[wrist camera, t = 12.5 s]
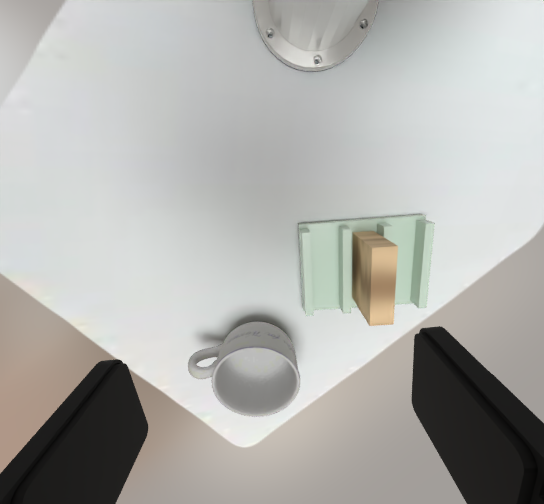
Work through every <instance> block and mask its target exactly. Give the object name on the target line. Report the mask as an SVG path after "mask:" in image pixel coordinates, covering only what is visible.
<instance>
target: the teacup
mask: <svg viewBox="0 0 544 504" xmlns="http://www.w3.org/2000/svg"><path fill="white" fill-rule="evenodd" d="M212 357H218V358H217V360H215V361H214V362H213V364H212V365H210V366H208V367H199V366H197V365H196V364H197V363H198V362H199V361H201V360H204V359H207V358H212ZM188 370H189V373H190V374H191V376H193V377H194V378H197V379H206V378H210V377H212V388H213V391H214V394H215V396H216V398H217V399H218V400H219V402H220V403H221V404H222V405H224V406H225V407H226V408H227V409H229V410H231V411H233V412H235V413H238V414H241V415H245V416H252V417H259V416H267V415H271V414H274V413H277V412H279V411H281V410H283V409H284V408H286V407H287V406H288V405H289V404H290V403H291V402H292V401H293V400H294V399H295V397H296V395H297V394H298V391H299V387H300V375H299V372H298V367H297V360H296V355H295V350H294V347H293V344H292V342H291V340H290V339H289V337H288V336H287V335H286V333H285V332H284V331H282V330H281V329H280V328H278V327H277V326H275V325H272V324H270V323H265V322H249V323H245V324H243V325H240V326H238V327H237V328H235V329H234V330H233V331H231V332H230V333H229V334H228V336H227V337H226V338H225V340H224V342H223V344H220V345H218V346H216V347H212V348H207V349H203V350H200V351H198V352H196V353H194V354H193V355H192V356H191V357H190V359H189V362H188Z"/></svg>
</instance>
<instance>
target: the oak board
mask: <svg viewBox="0 0 544 504" xmlns="http://www.w3.org/2000/svg"><path fill="white" fill-rule="evenodd" d="M397 256H398V246H397V245H396V244H394V243H392V242H391V241H389V240H388V239H386V238H384V237H383V236H381V235H379V234H378V233H376V232H374V231H364V232H352V298H353V300H354V301H355V303H356V305H357V306H358V308H359V310H360V311H361V313H362V314H363V316H364V318H365V319H366V321H367V322H368V324H369V326H375V325H390V324H393V322H394V306H395V289H396V273H397Z"/></svg>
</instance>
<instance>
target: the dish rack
mask: <svg viewBox="0 0 544 504" xmlns="http://www.w3.org/2000/svg"><path fill="white" fill-rule="evenodd" d="M425 217H426V215H422V214H417V215H404V216H391V217H378V218H365V219H353V220H340V221H327V222H314V223H301V224H298V227H299V246H300V266H301V285H302V305H303V311H305V314H306V316H314V312H313V310H325V309H340V308H341V310H342V312H343V313H351V308H354V307H358V306H357V305H356V303H355V301H354V300H353V298H352V232H364V231H374V232H376V233H378V234H379V235H381V236H383V237H384V238H386V239H388V240H389V241H391V242H392V243H394V244H396V245H397V246H398V256H397V273H396V289H395V305H397V304H411V303H414V304H415V305H416V306H417V307H418V308H426V307H427V297H428V286H429V276H430V266H431V255H432V245H433V235H434V224H435V223H433V222H430V221H427V220H425Z"/></svg>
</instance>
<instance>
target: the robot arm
mask: <svg viewBox="0 0 544 504" xmlns="http://www.w3.org/2000/svg"><path fill="white" fill-rule="evenodd" d="M378 1H379V0H253V8H254V15H255V19H256V23H257V27H258V30H259V32H260V34H261V37H262V39H263V41H264V42H265V44H266V45H267V47H268V48H269V50H270V51H271V52H272V53H273V54H274V55H275V56H276V57H277V58H278V59H279V60H281V61H282V62H284V63H285V64H286V65H288V66H291V67H293V68H295V69H298V70H303V71H321V70H325V69H329V68H332V67H334V66H336V65H338V64H340V63H341V62H343V61H344V60H345V59H347V58H348V57H349V56H351V54H352V53H353V52H354V51H355V50H356V49H357V48H358V47H359V45H360V44H361V43H362V41H363V40H364V38H365V37H366V35H367V33H368V32H369V30H370V28H371V26H372V23H373V20H374V17H375V14H376V12H377V6H378ZM360 26H363V29H361V28H360ZM269 34H271V35H272V36H273V37H272V38H269V37H268V35H269ZM316 60H317V61H318V62H319V64H315V63H314V61H316ZM413 361H414V362H413V382H412V404H413V408H414V411H415V413H416V415H417V416H418V418H419V420H420V422H421V423H422V425H423V427H424V429H425V431H426V432H427V434H428V436H429V437H430V439H431V441H432V443H433V445H434V446H435V448H436V450H437V452H438V453H439V455H440V457H441V459H442V460H443V462H444V464H445V466H446V467H447V469H448V471H449V473H450V474H451V476H452V478H453V480H454V481H455V483H456V485H457V487H458V488H459V490H460V492H461V494H462V496H463V497H464V499H465V501H466V503H467V504H544V423H543V422H542V421H541V420H540V419H538V418H537V417H536V416H535V415H534V414H533V413H532V412H531V411H530V410H529V409H528V408H527V407H526V406H525V405H524V404H523V403H522V402H521V401H520V400H519V399H518V398H517V397H516V396H515V395H513V393H511V392H510V391H509V390H508V389H507V388H506V387H505V386H504V385H503V384H502V383H501V382H500V381H499V380H498V379H497V378H496V377H495V376H494V375H493V374H491V373H490V372H489V371H488V370H487V369H486V368H485V367H484V366H483V365H482V364H481V363H479V362H478V361H477V360H476V359H475V358H474V357H473V356H472V355H471V354H470V353H469V352H468V351H467V350H466V349H465V348H464V347H463V346H462V345H461V344H460V343H459V342H458V341H457V340H456V339H455V338H454V337H453V336H451V335H450V333H448V332H447V331H446V330H445V329H444V328H443V327H440V326H439V327H430V328H422V329H421V330H420V332H419V334H416V335H415V339H414V360H413ZM147 433H148V423H147V420H146V417H145V414H144V412H143V409H142V406H141V403H140V400H139V397H138V395H137V392H136V389H135V386H134V383H133V380H132V378H131V375H130V372H129V369H128V366H127V365H126V364H124V363H123V362H122V361H121V360H118V359H116V360H107V361H101V362H99V363H98V364H96V366H95V367H94V368H93V369H92V370H91V371H90V372H89V374H88V375H87V376H86V377H85V378H84V379H83V380H82V381H81V383H80V384H79V385H78V386H77V387H76V388H75V389H74V391H73V392H72V393H71V394H70V395H69V396H68V397H67V399H66V400H65V401H64V402H63V403H62V404H61V405H60V406H59V408H58V409H57V410H56V411H55V412H54V413H53V415H52V416H51V417H50V418H49V419H48V420H47V421H46V422H45V424H44V425H43V426H42V427H41V428H40V429H39V430H38V431H37V433H36V434H35V435H34V436H33V437H32V438H31V439H30V441H29V442H28V443H27V444H26V445H25V446H24V447H23V449H22V450H21V451H20V452H19V453H18V454H17V455H16V457H15V458H14V459H13V460H12V461H11V462H10V463H9V464H8V466H7V467H6V468H5V469H4V470H3V472H1V474H0V504H115V503H116V501H117V499H118V497H119V495H120V493H121V491H122V488H123V486H124V484H125V482H126V480H127V478H128V475H129V473H130V471H131V469H132V467H133V465H134V462H135V460H136V458H137V456H138V454H139V452H140V450H141V447H142V445H143V443H144V441H145V439H146V436H147Z"/></svg>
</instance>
